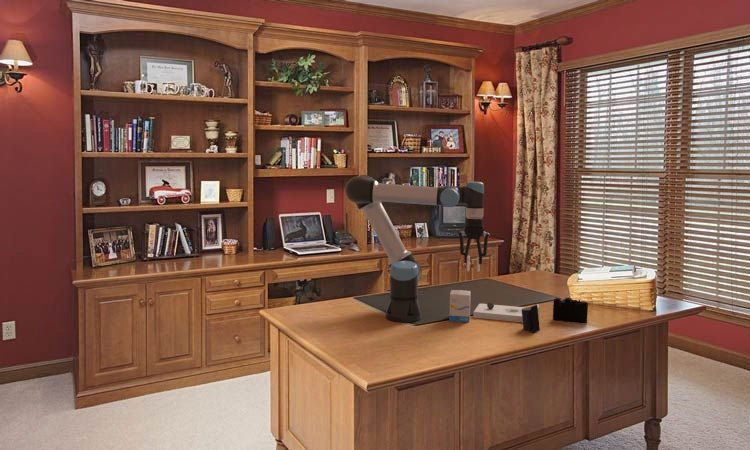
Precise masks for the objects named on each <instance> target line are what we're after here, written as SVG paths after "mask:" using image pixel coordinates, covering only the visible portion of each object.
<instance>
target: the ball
mask: <svg viewBox="0 0 750 450" xmlns="http://www.w3.org/2000/svg"><path fill="white" fill-rule="evenodd" d="M486 304H487V307H488V308H489V309H492V308H493V307H494V305H495V303H494V302H493V301H489V302H487V303H486Z"/></svg>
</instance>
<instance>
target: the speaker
mask: <svg viewBox="0 0 750 450" xmlns="http://www.w3.org/2000/svg"><path fill="white" fill-rule="evenodd" d="M521 310H522V320H523V322H522V327H523V330H525V331H532V334H535V333H538V332H539V331H541V328H540V319H539V316H538V307H537V304H534V305H533V306H530V307H525V308H523V309H521Z"/></svg>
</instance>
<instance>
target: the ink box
mask: <svg viewBox="0 0 750 450" xmlns="http://www.w3.org/2000/svg"><path fill="white" fill-rule="evenodd" d="M471 292H472V291H471V290H463V289H462V290H461V289H456V290H455V289H451V290H450V292H449V314H448V319H449V320H448V321H449V322H458V323H470V317H471V301H472V299H471V296H472V295H471Z"/></svg>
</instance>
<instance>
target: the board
mask: <svg viewBox="0 0 750 450" xmlns="http://www.w3.org/2000/svg"><path fill="white" fill-rule="evenodd" d="M487 304H488V303H478V305H477V306H476V308H475V309H474V310H473V316H472V317H473V318H474V319H483V320H484V319H486V320H493V321H494V320H497V321H507V322H516V323H523V320H522V310H521V309H523V308H526V307H525V306H524V307H523V306H515V305H514V306H513V305H512V306H511V305H500V304H494V307H493V308H492V309H489V308H488V307H487ZM536 305H537V307H538V317H539V316H540V306H541V305H540V304H539V303H537V304H536Z"/></svg>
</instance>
